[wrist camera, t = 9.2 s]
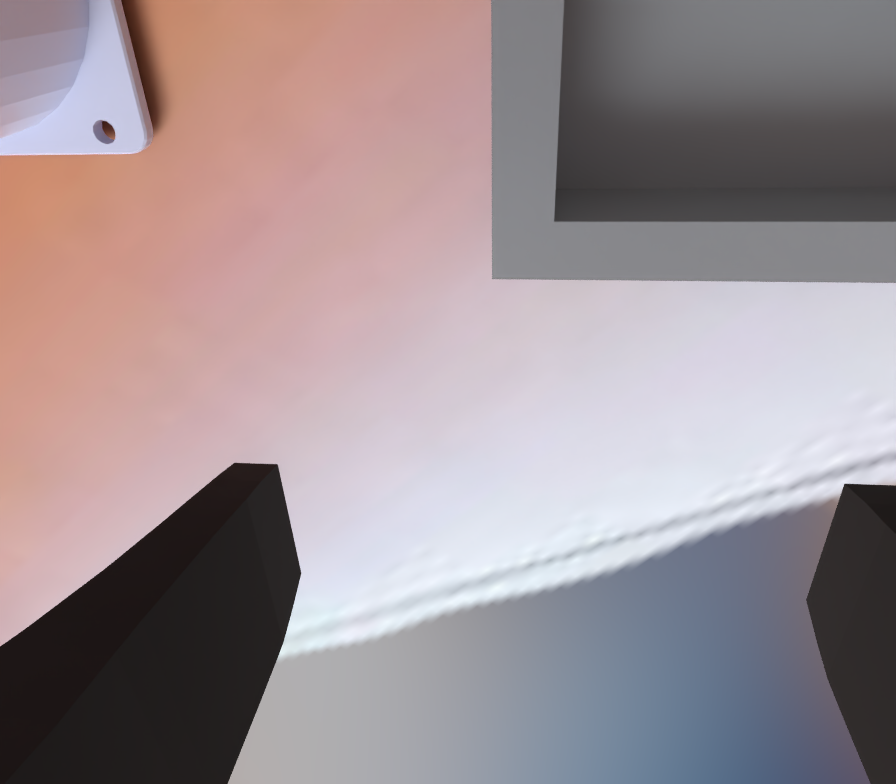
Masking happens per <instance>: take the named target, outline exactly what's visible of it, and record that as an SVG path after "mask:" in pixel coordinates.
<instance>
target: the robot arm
mask: <svg viewBox="0 0 896 784" xmlns="http://www.w3.org/2000/svg"><path fill="white" fill-rule="evenodd" d="M103 120H104V121H107V122H108V123H110V124H111V125H112V126H113V128H114V130H115V136H116V138H115V140H113V139H110V138H109V137H108V136H107V135H106V134H105V133H104V131H103V129H102V122H103ZM152 139H153V127H152V123H151V119H150V115H149V111H148V107H147V103H146V99H145V95H144V91H143V87H142V83H141V79H140V75H139V71H138V67H137V63H136V59H135V55H134V51H133V46H132V42H131V38H130V34H129V30H128V26H127V22H126V18H125V14H124V10H123V6H122V2H121V0H0V155H67V154H133V153H137V152H140V151H142V150H144V149H146V148H147V147H148V146H149V145H150V144H151V142H152ZM300 576H301V570H300V566H299V561H298V556H297V552H296V547H295V542H294V538H293V533H292V529H291V524H290V519H289V515H288V510H287V505H286V501H285V496H284V492H283V487H282V482H281V478H280V473H279V468H278V464H250V463H234V464H232V465H231V466H230V467H229V468H227V469H226V470H225V471H223V472H222V473H221V474H220V475H218V476H217V477H216V478H215V479H213V480H212V481H211V482H210V483H209V484H207V485H206V486H205V487H204V488H202V489H201V490H200V491H199V492H198V493H196V494H195V495H194V496H193V497H192V498H191V499H189V500H188V501H187V502H186V503H185V504H183V505H182V506H181V507H180V508H179V509H177V510H176V511H175V512H174V513H173V514H171V515H170V516H169V517H168V518H167V519H165V520H164V521H163V522H162V523H161V524H159V525H158V526H157V527H156V528H155V529H153V530H152V531H151V532H150V533H148V534H147V535H146V536H145V537H144V538H142V539H141V540H140V541H139V542H137V543H136V544H135V545H134V546H133V547H131V548H130V549H129V550H128V551H126V552H125V553H124V554H123V555H122V556H120V557H119V558H118V559H117V560H115V561H114V562H113V563H112V564H111V565H109V566H108V567H107V568H105V569H104V570H103V571H102V572H100V573H99V574H98V575H96V576H95V577H94V578H92V579H91V580H90V581H88V582H87V583H86V584H84V585H83V586H82V587H80V588H79V589H78V590H76V591H75V592H74V593H72V594H71V595H70V596H68V597H67V598H66V599H64V600H63V601H62V602H61V603H59V604H58V605H57V606H55V607H54V608H53V609H51V610H50V611H49V612H47V613H46V614H45V615H43V616H42V617H41V618H39V619H38V620H37V621H35V622H34V623H33V624H31V625H30V626H29V627H27V628H26V629H25V630H23V631H22V632H20V633H19V634H18V635H16V636H15V637H13V638H12V639H10V640H9V641H8V642H6V643H5V644H3V645H2V646H0V784H228V781H229V779H230V776H231V774H232V771H233V769H234V766H235V764H236V761H237V758H238V756H239V754H240V751H241V749H242V746H243V744H244V741H245V739H246V736H247V734H248V731H249V729H250V726H251V724H252V721H253V719H254V716H255V714H256V711H257V709H258V706H259V704H260V701H261V699H262V696H263V694H264V691H265V688H266V686H267V683H268V681H269V678H270V676H271V673H272V671H273V668H274V665H275V663H276V660H277V658H278V655H279V652H280V650H281V647H282V645H283V642H284V638H285V634H286V631H287V627H288V623H289V620H290V616H291V612H292V609H293V604H294V600H295V596H296V592H297V588H298V584H299V580H300ZM806 600H807V604H808V608H809V612H810V616H811V620H812V624H813V628H814V632H815V636H816V640H817V643H818V647H819V650H820V654H821V657H822V661H823V664H824V668H825V671H826V675H827V678H828V680H829V683H830V686H831V688H832V691H833V693H834V696H835V698H836V701H837V703H838V706H839V708H840V710H841V713H842V715H843V718H844V720H845V723H846V725H847V728H848V730H849V733H850V735H851V737H852V740H853V742H854V745H855V747H856V749H857V752H858V754H859V757H860V759H861V762H862V764H863V766H864V769H865V771H866V773H867V776H868V778H869V781H870V783H871V784H896V486H892V485H863V484H844V487H843V490H842V493H841V496H840V499H839V502H838V505H837V508H836V511H835V515H834V518H833V520H832V523H831V527H830V530H829V533H828V536H827V539H826V542H825V545H824V548H823V551H822V554H821V557H820V560H819V563H818V566H817V569H816V572H815V575H814V578H813V581H812V584H811V587H810V591H809V593H808V596H807V599H806Z"/></svg>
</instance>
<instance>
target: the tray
mask: <svg viewBox="0 0 896 784" xmlns="http://www.w3.org/2000/svg"><path fill="white" fill-rule="evenodd" d="M491 21H492V279H545V280H652V281H760V282H867V283H896V0H491Z"/></svg>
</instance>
